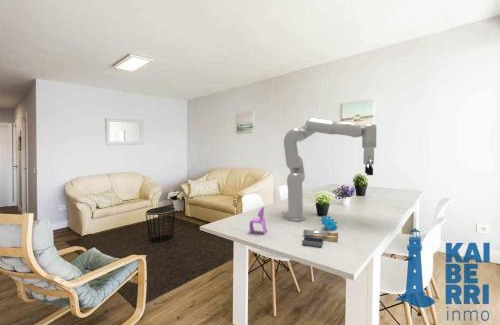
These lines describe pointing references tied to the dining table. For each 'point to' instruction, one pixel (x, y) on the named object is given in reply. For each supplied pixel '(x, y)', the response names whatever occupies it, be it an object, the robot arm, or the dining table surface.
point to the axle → (314, 232)
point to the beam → (331, 236)
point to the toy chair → (259, 221)
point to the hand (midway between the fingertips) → (368, 174)
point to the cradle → (312, 242)
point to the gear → (329, 223)
